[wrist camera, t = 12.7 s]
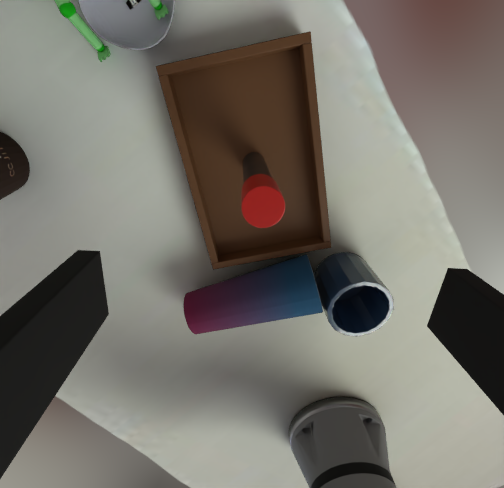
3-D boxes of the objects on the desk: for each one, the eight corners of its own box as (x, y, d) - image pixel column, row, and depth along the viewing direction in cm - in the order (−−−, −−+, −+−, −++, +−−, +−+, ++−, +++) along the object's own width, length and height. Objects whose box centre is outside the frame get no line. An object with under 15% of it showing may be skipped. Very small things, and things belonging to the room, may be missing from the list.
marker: (268, 172, 33) (288, 223, 18) (244, 178, 33) (246, 232, 19) (263, 148, 32) (281, 181, 17) (239, 153, 32) (236, 191, 18)
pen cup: (369, 294, 40) (394, 329, 34) (317, 304, 40) (331, 341, 34) (367, 247, 37) (393, 275, 31) (310, 258, 38) (324, 289, 31)
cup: (188, 276, 39) (303, 246, 37) (206, 320, 41) (315, 293, 39) (174, 303, 33) (312, 268, 31) (196, 354, 35) (326, 324, 33)
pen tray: (325, 238, 37) (331, 247, 34) (215, 259, 37) (213, 269, 35) (304, 37, 28) (310, 31, 26) (162, 69, 29) (155, 66, 27)
